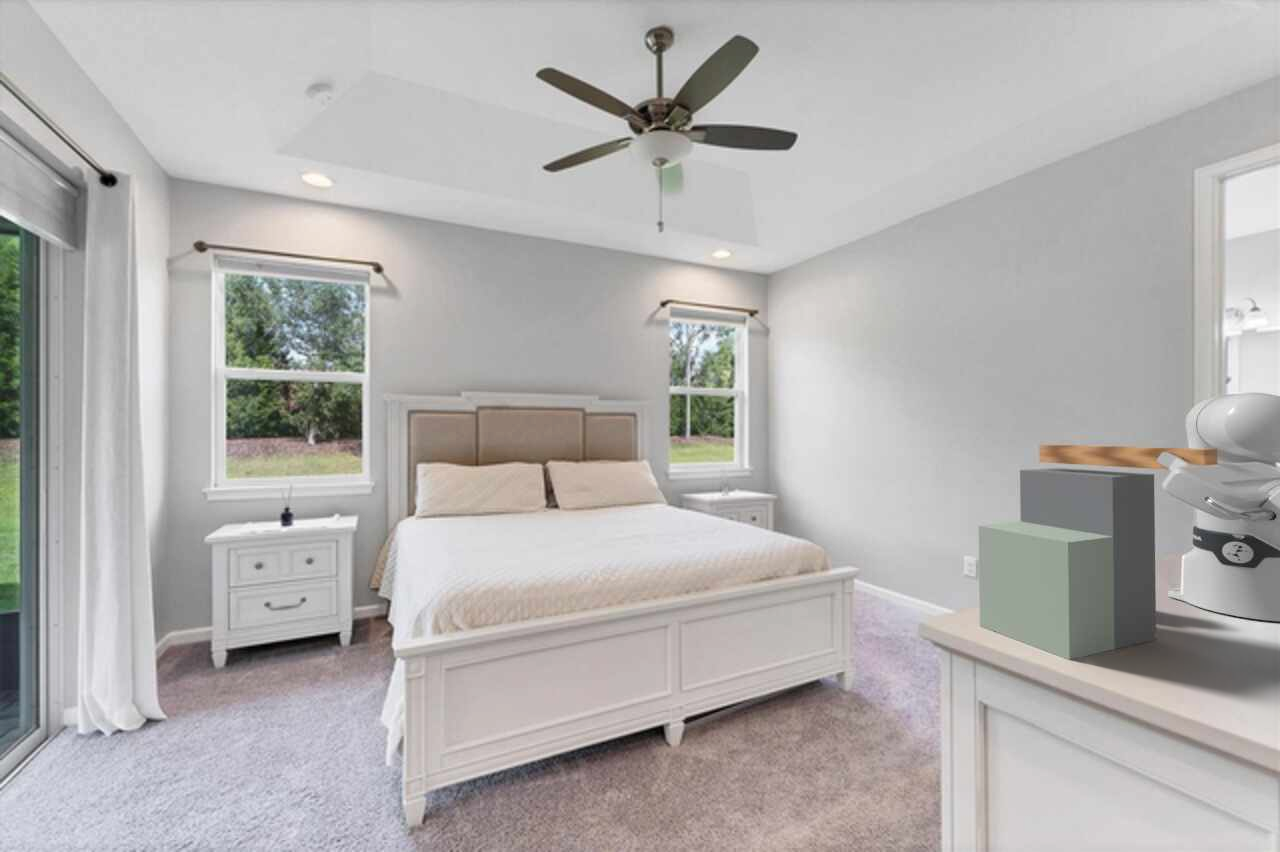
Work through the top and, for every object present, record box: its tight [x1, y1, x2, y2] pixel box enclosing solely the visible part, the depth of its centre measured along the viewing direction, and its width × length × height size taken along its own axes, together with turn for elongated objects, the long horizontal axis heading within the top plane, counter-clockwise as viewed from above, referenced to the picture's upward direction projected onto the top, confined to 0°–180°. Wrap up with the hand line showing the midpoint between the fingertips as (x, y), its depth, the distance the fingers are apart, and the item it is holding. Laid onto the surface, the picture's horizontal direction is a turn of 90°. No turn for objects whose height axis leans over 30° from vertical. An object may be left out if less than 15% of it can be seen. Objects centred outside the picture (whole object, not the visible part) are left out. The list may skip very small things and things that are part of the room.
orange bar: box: [1038, 444, 1217, 471], centre depth 85 cm, size 22×3×3 cm, turn 19°
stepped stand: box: [978, 467, 1157, 660], centre depth 88 cm, size 14×20×26 cm
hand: (1171, 455), depth 78 cm, fingers closed on orange bar, 3 cm apart
